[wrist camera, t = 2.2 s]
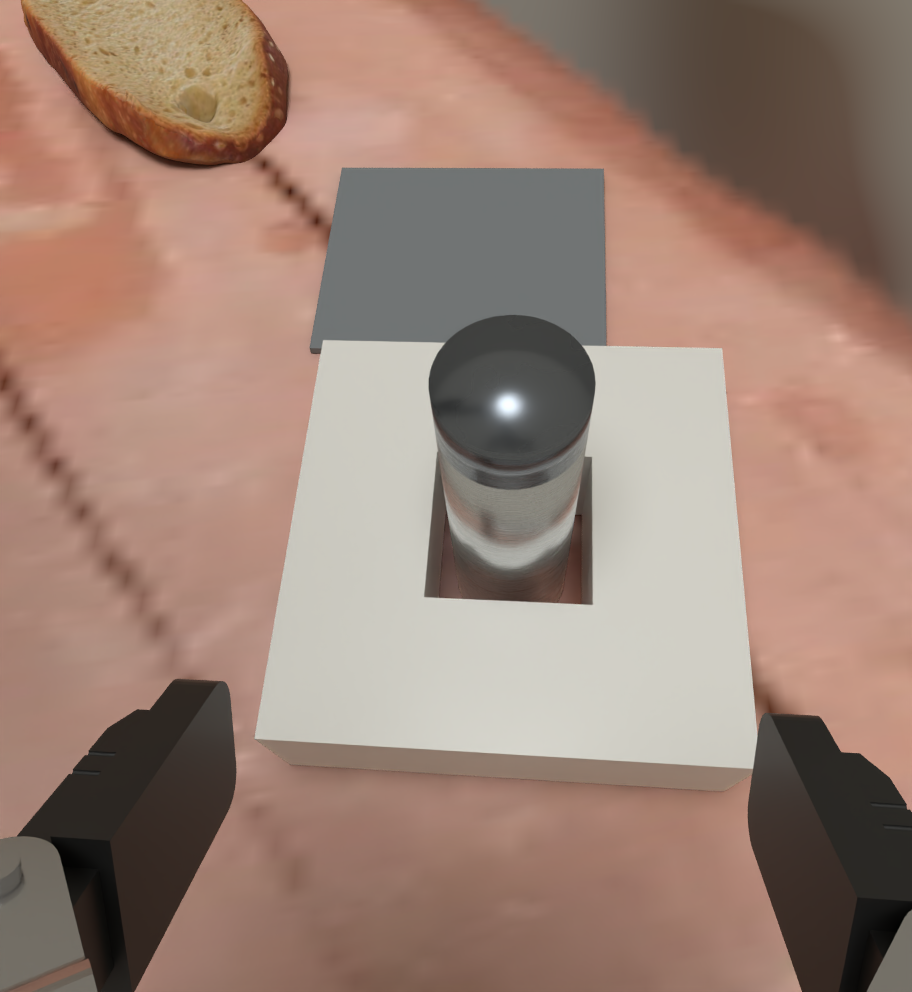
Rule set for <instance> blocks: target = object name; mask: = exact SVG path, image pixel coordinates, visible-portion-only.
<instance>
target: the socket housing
mask: <svg viewBox="0 0 912 992" xmlns="http://www.w3.org/2000/svg"><path fill="white" fill-rule="evenodd" d="M444 344H445V343H437V342H389V341H340V340H323V343H322V349H321V355H320V361H319V366H318V372H317V378H316V384H315V390H314V395H313V401H312V407H311V413H310V419H309V424H308V430H307V436H306V442H305V448H304V453H303V459H302V465H301V471H300V477H299V482H298V488H297V494H296V500H295V506H294V512H293V517H292V523H291V529H290V535H289V541H288V546H287V552H286V558H285V564H284V570H283V575H282V581H281V587H280V593H279V599H278V604H277V610H276V616H275V622H274V628H273V633H272V639H271V645H270V651H269V657H268V662H267V668H266V674H265V680H264V686H263V691H262V697H261V703H260V709H259V715H258V720H257V726H256V732H255V738H254V739H255V740H257V741H258V742H259V743H261V744H262V745H264V746H265V747H266V748H268V749H269V750H271V751H272V752H273V753H275V754H276V755H278V756H279V757H280V758H282V759H283V760H284V761H286V762H287V763H289V764H290V765H305V766H321V767H337V768H353V769H369V770H385V771H401V772H417V773H433V774H449V775H465V776H481V777H497V778H513V779H529V780H545V781H561V782H577V783H593V784H609V785H625V786H641V787H657V788H673V789H689V790H705V791H721V792H724V791H725V790H727V789H729V788H730V787H732V786H734V785H735V784H737V783H739V782H740V781H742V780H744V779H745V778H747V777H749V776H750V775H752V773H753V765H754V758H755V751H756V744H757V726H756V715H755V705H754V694H753V683H752V672H751V661H750V650H749V639H748V628H747V617H746V606H745V595H744V584H743V573H742V562H741V551H740V540H739V529H738V518H737V507H736V496H735V485H734V475H733V464H732V453H731V442H730V431H729V420H728V409H727V398H726V387H725V376H724V365H723V354H722V348H680V347H631V346H583V345H582V346H583V348H584V349H585V351H586V352H587V354H588V356H589V358H590V360H591V362H592V365H593V368H594V372H595V381H596V386H595V395H594V402H593V408H592V414H591V420H590V426H589V433H588V439H587V445H586V451H585V457H584V463H583V470H582V476H581V482H580V488H579V494H578V500H577V507H576V513H575V515H582V604H561V603H539V602H517V601H495V600H473V599H451V598H439V588H440V576H441V564H442V552H443V539H444V527H445V515H446V510H447V508H446V501H445V494H444V488H443V481H442V475H441V468H440V462H439V455H438V448H437V442H436V435H435V429H434V422H433V415H432V409H431V402H430V395H429V388H428V387H429V374H430V369H431V367H432V364H433V361H434V359H435V357H436V355H437V353H438V352H439V350H440V349H441V348H442V346H443V345H444Z"/></svg>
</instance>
